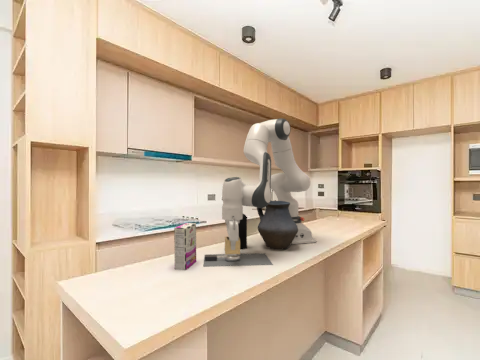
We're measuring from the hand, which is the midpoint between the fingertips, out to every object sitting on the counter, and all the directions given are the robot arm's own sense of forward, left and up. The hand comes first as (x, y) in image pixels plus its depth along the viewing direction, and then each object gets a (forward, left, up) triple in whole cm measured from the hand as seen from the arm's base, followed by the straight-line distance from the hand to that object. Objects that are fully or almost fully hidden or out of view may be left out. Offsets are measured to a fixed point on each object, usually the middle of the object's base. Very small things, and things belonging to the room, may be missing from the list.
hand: (232, 247), depth 112 cm
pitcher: (-24, -20, -6) cm, 32 cm away
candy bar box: (+19, +6, -6) cm, 21 cm away
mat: (-2, 0, -6) cm, 6 cm away
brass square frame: (0, 0, -2) cm, 2 cm away
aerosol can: (-5, -20, -6) cm, 21 cm away
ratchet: (+4, 0, -5) cm, 7 cm away
